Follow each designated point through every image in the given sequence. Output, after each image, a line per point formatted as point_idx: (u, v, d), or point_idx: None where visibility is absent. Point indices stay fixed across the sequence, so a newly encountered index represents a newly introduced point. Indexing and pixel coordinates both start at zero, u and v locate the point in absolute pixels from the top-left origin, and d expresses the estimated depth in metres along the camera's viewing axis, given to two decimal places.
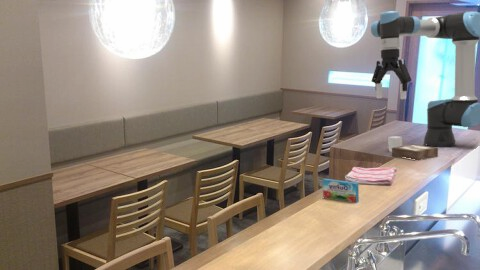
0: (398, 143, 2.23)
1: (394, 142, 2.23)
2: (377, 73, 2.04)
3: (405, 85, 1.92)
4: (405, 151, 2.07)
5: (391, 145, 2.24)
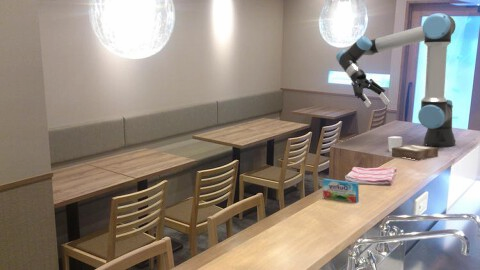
0: (398, 143, 2.23)
1: (394, 142, 2.23)
2: None
3: (360, 97, 2.30)
4: (405, 151, 2.07)
5: (391, 145, 2.24)
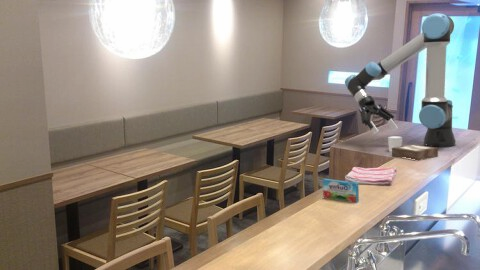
0: (398, 143, 2.23)
1: (394, 142, 2.23)
2: None
3: (368, 124, 2.28)
4: (405, 151, 2.07)
5: (391, 145, 2.24)
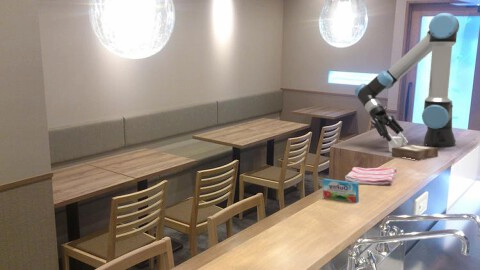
0: (398, 143, 2.23)
1: None
2: None
3: (386, 137, 2.24)
4: (405, 151, 2.07)
5: (391, 145, 2.24)
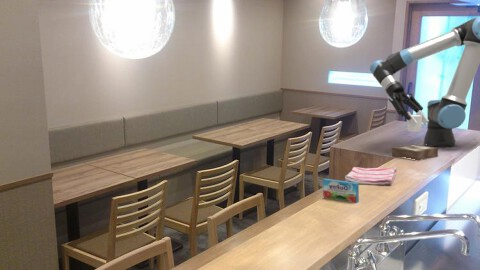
0: (418, 122, 2.07)
1: None
2: None
3: (405, 115, 2.07)
4: (405, 151, 2.07)
5: (410, 124, 2.08)
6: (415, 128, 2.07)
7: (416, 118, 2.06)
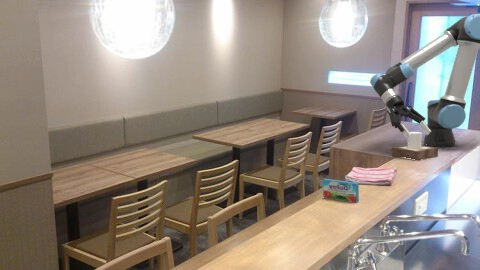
0: (418, 139, 2.08)
1: (414, 138, 2.08)
2: None
3: (398, 127, 2.08)
4: (405, 151, 2.07)
5: (410, 141, 2.09)
6: (415, 145, 2.08)
7: (416, 135, 2.07)
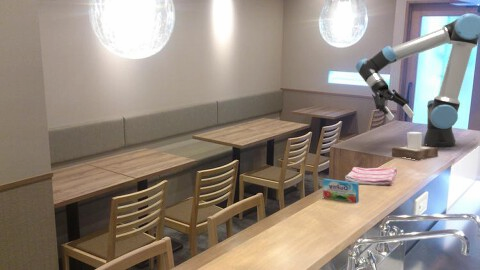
0: (418, 139, 2.08)
1: (414, 138, 2.08)
2: None
3: (382, 110, 2.14)
4: (405, 151, 2.07)
5: (410, 141, 2.09)
6: (415, 145, 2.08)
7: (416, 135, 2.07)
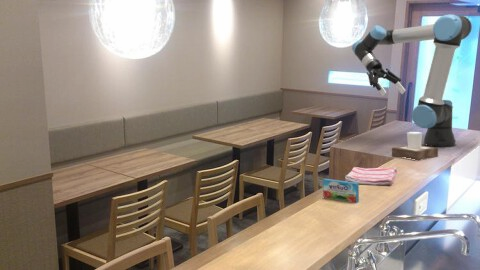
0: (418, 139, 2.08)
1: (414, 138, 2.08)
2: None
3: (376, 86, 2.31)
4: (405, 151, 2.07)
5: (410, 141, 2.09)
6: (415, 145, 2.08)
7: (416, 135, 2.07)
